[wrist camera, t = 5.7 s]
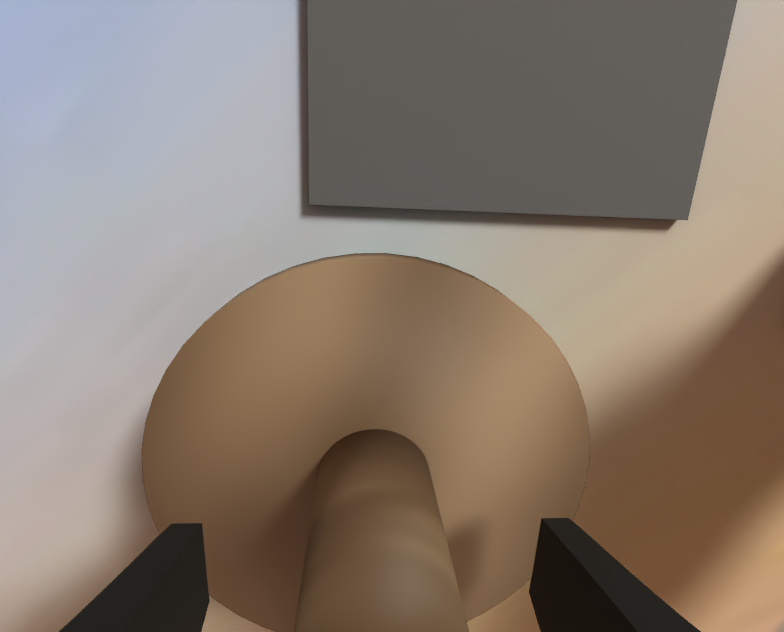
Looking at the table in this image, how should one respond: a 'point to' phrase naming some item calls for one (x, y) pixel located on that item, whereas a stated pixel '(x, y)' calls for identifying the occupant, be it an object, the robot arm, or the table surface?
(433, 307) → the lid
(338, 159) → the mat
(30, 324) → the table surface
